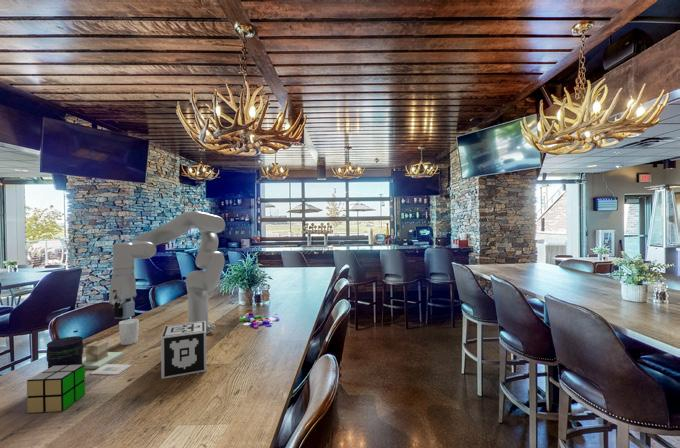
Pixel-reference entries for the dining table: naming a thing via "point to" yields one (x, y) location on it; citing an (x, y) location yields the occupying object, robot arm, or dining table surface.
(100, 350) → the maple block
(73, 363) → the storage jar
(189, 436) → the dining table surface
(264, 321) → the flower wreath
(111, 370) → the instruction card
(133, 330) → the white cup
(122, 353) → the board
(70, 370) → the puzzle cube
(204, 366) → the block
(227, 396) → the dining table surface
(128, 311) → the slate block
